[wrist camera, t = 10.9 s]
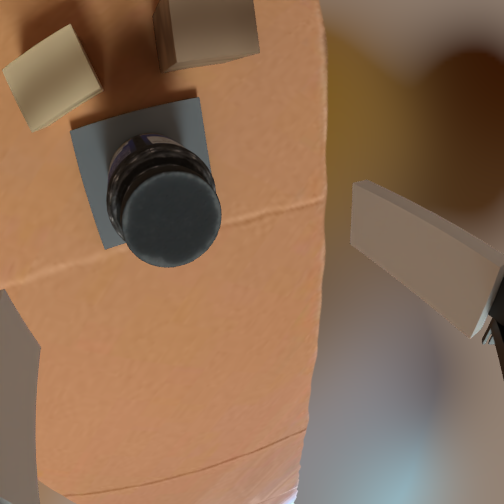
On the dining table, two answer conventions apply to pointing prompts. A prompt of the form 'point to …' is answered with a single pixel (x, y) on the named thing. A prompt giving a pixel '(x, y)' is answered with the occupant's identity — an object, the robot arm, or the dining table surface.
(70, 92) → the oak block
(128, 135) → the slate coaster
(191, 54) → the walnut block
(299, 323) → the dining table surface
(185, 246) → the pill bottle
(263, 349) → the dining table surface
